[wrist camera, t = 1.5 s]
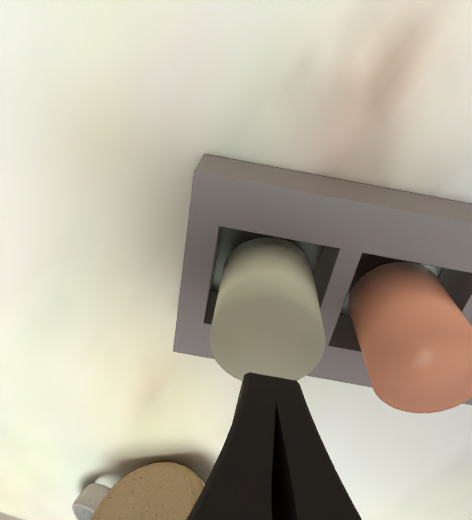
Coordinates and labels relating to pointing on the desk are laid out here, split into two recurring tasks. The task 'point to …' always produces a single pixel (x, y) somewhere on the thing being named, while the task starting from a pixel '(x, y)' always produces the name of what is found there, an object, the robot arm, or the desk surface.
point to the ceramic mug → (143, 495)
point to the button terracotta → (412, 338)
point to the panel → (322, 233)
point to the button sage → (267, 312)
